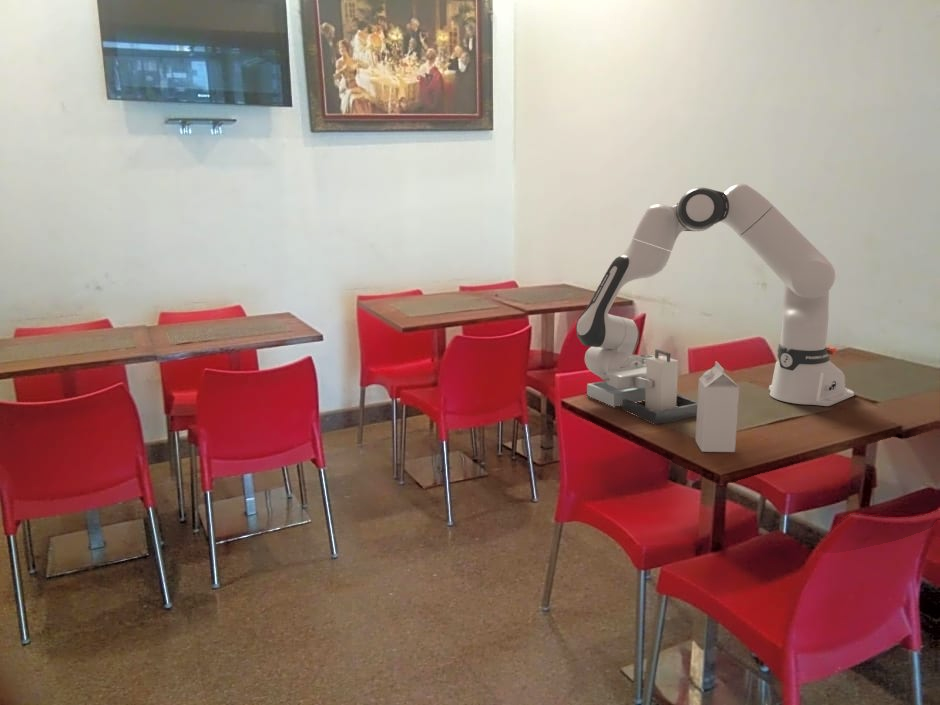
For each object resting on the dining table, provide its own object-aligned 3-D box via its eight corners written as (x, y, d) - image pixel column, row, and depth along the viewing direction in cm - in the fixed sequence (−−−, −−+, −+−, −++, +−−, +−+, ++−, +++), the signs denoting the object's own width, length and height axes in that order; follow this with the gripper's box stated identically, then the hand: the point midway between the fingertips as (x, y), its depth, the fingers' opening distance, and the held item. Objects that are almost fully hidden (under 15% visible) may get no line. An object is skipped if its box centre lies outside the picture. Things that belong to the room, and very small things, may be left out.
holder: (667, 401, 194) (667, 390, 193) (702, 414, 183) (702, 403, 182) (622, 410, 188) (622, 399, 187) (655, 424, 176) (656, 413, 176)
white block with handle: (660, 407, 189) (662, 347, 185) (675, 413, 184) (678, 352, 180) (644, 410, 187) (647, 350, 183) (660, 416, 182) (663, 355, 178)
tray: (632, 387, 207) (633, 375, 206) (660, 398, 197) (661, 385, 196) (587, 395, 200) (587, 383, 200) (613, 407, 190) (613, 394, 189)
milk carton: (727, 441, 164) (732, 361, 160) (735, 453, 157) (740, 369, 153) (695, 441, 165) (699, 361, 160) (701, 452, 158) (706, 369, 154)
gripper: (596, 364, 190) (630, 376, 178) (657, 354, 199) (693, 365, 187) (596, 387, 192) (629, 400, 180) (656, 376, 200) (692, 388, 188)
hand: (662, 382), depth 183 cm, fingers closed on white block with handle, 5 cm apart
